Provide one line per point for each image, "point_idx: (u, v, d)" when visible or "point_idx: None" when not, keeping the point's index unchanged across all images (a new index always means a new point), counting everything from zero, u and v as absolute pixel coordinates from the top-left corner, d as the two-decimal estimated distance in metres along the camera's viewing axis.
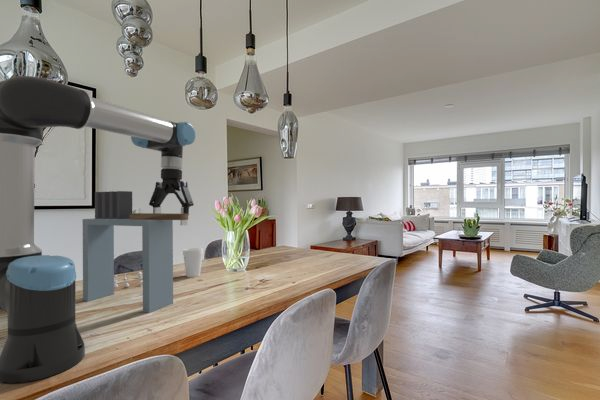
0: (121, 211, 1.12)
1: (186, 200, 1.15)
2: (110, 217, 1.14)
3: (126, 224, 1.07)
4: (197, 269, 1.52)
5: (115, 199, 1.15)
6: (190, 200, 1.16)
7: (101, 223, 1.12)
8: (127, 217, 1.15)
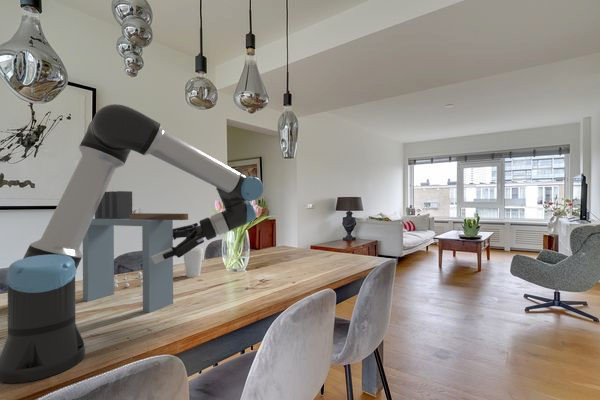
0: (121, 211, 1.12)
1: (180, 247, 1.01)
2: (110, 217, 1.14)
3: (126, 224, 1.07)
4: (197, 269, 1.52)
5: (115, 199, 1.15)
6: (182, 252, 1.01)
7: (101, 223, 1.12)
8: (127, 217, 1.15)
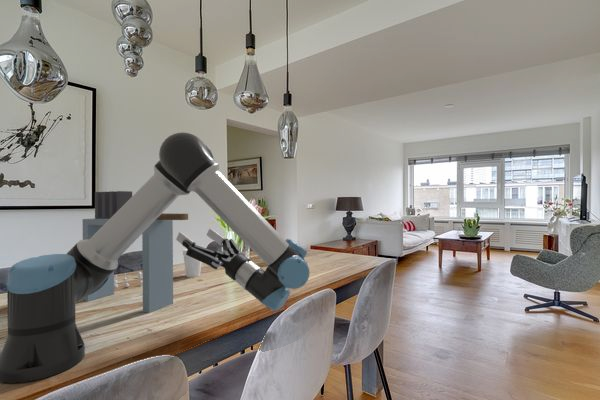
0: None
1: (195, 249, 0.90)
2: (110, 217, 1.14)
3: None
4: (197, 269, 1.52)
5: (115, 199, 1.15)
6: (192, 254, 0.89)
7: (101, 223, 1.12)
8: None
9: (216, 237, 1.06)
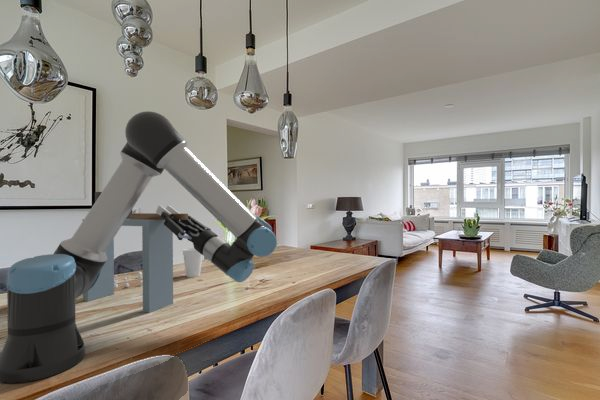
0: None
1: (170, 220, 0.99)
2: None
3: (126, 224, 1.07)
4: (197, 269, 1.52)
5: None
6: (167, 223, 0.99)
7: None
8: (127, 217, 1.15)
9: (174, 213, 1.07)
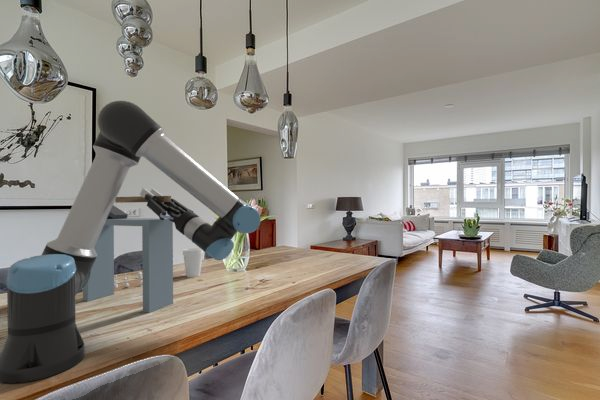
0: (111, 212, 1.14)
1: (153, 201, 1.02)
2: None
3: (126, 224, 1.07)
4: (197, 269, 1.52)
5: None
6: (150, 204, 1.02)
7: None
8: (122, 214, 1.16)
9: None
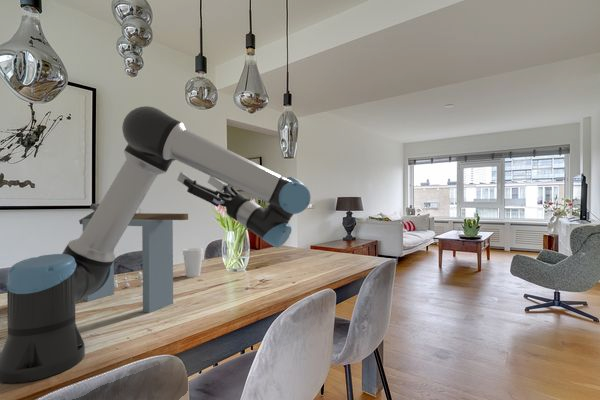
0: None
1: (196, 186, 0.89)
2: None
3: None
4: (197, 269, 1.52)
5: None
6: (193, 191, 0.89)
7: None
8: None
9: (217, 184, 1.06)
